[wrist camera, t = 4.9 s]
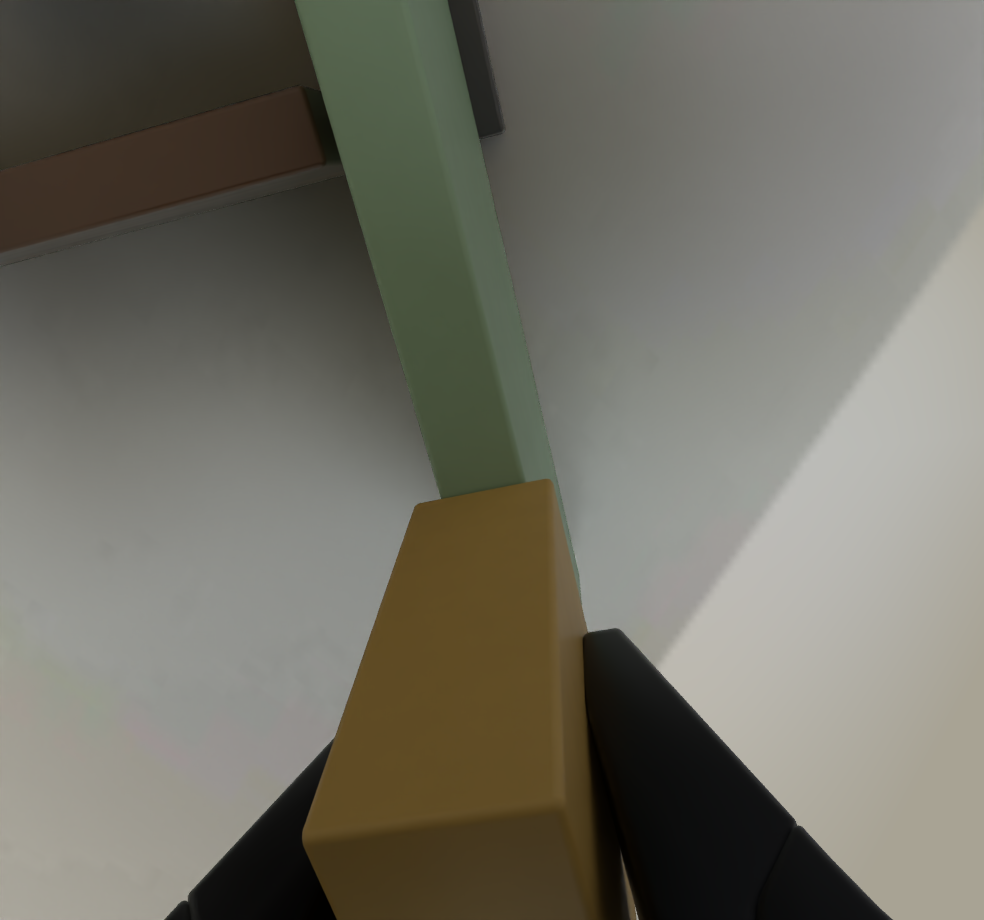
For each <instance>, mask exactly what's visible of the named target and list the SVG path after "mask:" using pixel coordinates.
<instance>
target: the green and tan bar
mask: <svg viewBox="0 0 984 920" xmlns="http://www.w3.org/2000/svg"><path fill="white" fill-rule="evenodd" d="M294 1H295V5H296V8H297V12H298V15H299V18H300V22H301V25H302V28H303V32H304V35H305V39H306V42H307V45H308V49H309V52H310V56H311V59H312V62H313V66H314V69H315V73H316V76H317V79H318V83H319V86H320V90H321V93H322V96H323V100H324V103H325V107H326V110H327V113H328V117H329V120H330V124H331V127H332V130H333V134H334V137H335V141H336V144H337V147H338V151H339V154H340V158H341V161H342V164H343V168H344V171H345V175H346V178H347V181H348V185H349V188H350V192H351V195H352V198H353V202H354V205H355V209H356V212H357V215H358V219H359V222H360V225H361V229H362V232H363V236H364V239H365V242H366V246H367V249H368V253H369V256H370V259H371V263H372V266H373V270H374V273H375V276H376V280H377V283H378V287H379V290H380V293H381V297H382V300H383V304H384V307H385V310H386V314H387V317H388V321H389V324H390V327H391V331H392V334H393V338H394V341H395V344H396V348H397V351H398V355H399V358H400V361H401V365H402V368H403V372H404V375H405V378H406V382H407V385H408V389H409V392H410V395H411V399H412V402H413V405H414V409H415V412H416V416H417V419H418V422H419V426H420V429H421V433H422V436H423V439H424V443H425V446H426V450H427V453H428V456H429V460H430V463H431V467H432V470H433V473H434V477H435V480H436V484H437V487H438V490H439V494H440V497H441V499H439V500H434V501H429V502H424V503H419V504H417V505H416V506H415V507H414V510H413V513H412V516H411V519H410V521H409V524H408V527H407V530H406V533H405V536H404V539H403V542H402V545H401V548H400V550H399V553H398V556H397V559H396V562H395V565H394V568H393V571H392V574H391V576H390V579H389V582H388V585H387V588H386V591H385V594H384V597H383V600H382V603H381V605H380V608H379V611H378V614H377V617H376V620H375V623H374V626H373V629H372V631H371V634H370V637H369V640H368V643H367V646H366V649H365V652H364V655H363V658H362V660H361V663H360V666H359V669H358V672H357V675H356V678H355V681H354V684H353V686H352V689H351V692H350V695H349V698H348V701H347V704H346V707H345V710H344V713H343V715H342V718H341V721H340V724H339V727H338V730H337V733H336V736H335V739H334V741H333V744H332V747H331V750H330V753H329V756H328V759H327V762H326V765H325V768H324V770H323V773H322V776H321V779H320V782H319V785H318V788H317V791H316V794H315V796H314V799H313V802H312V805H311V808H310V811H309V814H308V817H307V820H306V823H305V825H304V828H303V832H302V841H303V846H304V848H305V851H306V853H307V855H308V857H309V859H310V862H311V864H312V866H313V868H314V870H315V873H316V875H317V877H318V879H319V881H320V884H321V886H322V888H323V890H324V892H325V895H326V897H327V899H328V901H329V903H330V905H331V908H332V910H333V912H334V914H335V916H336V919H337V920H636V913H635V904H634V900H633V896H632V893H631V889H630V885H629V881H628V878H627V874H626V870H625V866H624V862H623V858H622V854H621V850H620V846H619V842H618V838H617V834H616V829H615V825H614V821H613V817H612V813H611V809H610V805H609V801H608V796H607V792H606V788H605V784H604V780H603V776H602V772H601V768H600V763H599V759H598V755H597V751H596V747H595V743H594V739H593V735H592V731H591V726H590V722H589V718H588V714H587V710H586V700H585V683H584V659H583V636H584V635H585V634H586V633H588V631H587V627H586V622H585V618H584V614H583V609H582V602H581V591H580V580H579V573H578V569H577V564H576V560H575V556H574V551H573V547H572V543H571V538H570V534H569V529H568V525H567V521H566V516H565V512H564V508H563V503H562V499H561V495H560V490H559V486H558V481H557V477H556V473H555V468H554V464H553V460H552V455H551V451H550V446H549V442H548V438H547V433H546V429H545V425H544V420H543V416H542V411H541V407H540V403H539V398H538V394H537V390H536V385H535V381H534V376H533V372H532V368H531V363H530V359H529V355H528V350H527V346H526V341H525V337H524V333H523V328H522V324H521V320H520V315H519V311H518V306H517V302H516V298H515V293H514V289H513V285H512V280H511V276H510V271H509V267H508V263H507V258H506V254H505V250H504V245H503V241H502V236H501V232H500V228H499V223H498V219H497V215H496V210H495V206H494V202H493V197H492V193H491V188H490V184H489V180H488V175H487V171H486V167H485V162H484V158H483V153H482V149H481V145H480V140H479V136H478V132H477V127H476V123H475V118H474V114H473V110H472V105H471V101H470V97H469V92H468V88H467V83H466V79H465V75H464V70H463V66H462V62H461V57H460V53H459V48H458V44H457V40H456V35H455V31H454V27H453V22H452V18H451V13H450V9H449V5H448V0H294Z"/></svg>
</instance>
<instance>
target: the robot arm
mask: <svg viewBox="0 0 984 920" xmlns="http://www.w3.org/2000/svg"><path fill="white" fill-rule="evenodd" d="M583 659H584V683H585V700H586V710H587V714H588V718H589V722H590V726H591V731H592V735H593V739H594V743H595V747H596V751H597V755H598V759H599V763H600V768H601V772H602V776H603V780H604V784H605V788H606V792H607V796H608V801H609V805H610V809H611V813H612V817H613V821H614V825H615V829H616V834H617V838H618V842H619V846H620V850H621V854H622V858H623V862H624V866H625V870H626V874H627V878H628V881H629V885H630V889H631V893H632V896H633V900H634V904H635V907H636V911H637V915H638V918H639V920H892V919H891V918H890V917H889V916H888V915H887V914H886V913H885V912H883V911H882V910H881V909H880V908H879V907H878V906H877V905H876V904H875V903H874V902H873V901H872V900H871V899H870V898H869V897H868V896H867V895H866V894H865V893H864V892H863V891H862V890H861V889H860V887H858V885H857V884H856V883H855V882H854V881H853V880H852V879H851V878H850V877H849V876H848V875H847V874H846V873H845V872H844V871H843V870H842V869H841V868H840V867H839V866H838V865H837V864H836V863H835V862H834V861H833V860H832V859H831V858H830V857H829V856H828V855H827V853H826V852H825V851H824V850H823V849H822V848H821V847H820V846H819V845H818V844H817V843H816V841H815V840H814V839H813V838H812V837H811V836H810V835H809V834H808V833H807V832H806V831H805V829H804V828H803V827H801V826H797V824H796V821H795V819H794V818H793V817H792V816H791V815H790V814H789V813H788V812H787V810H786V809H785V808H784V807H783V806H782V805H781V804H780V803H779V802H778V801H777V800H776V799H775V798H774V796H773V795H772V794H771V793H770V792H769V791H768V790H767V789H766V788H765V786H764V785H763V784H762V783H761V782H760V781H759V780H758V779H757V778H756V777H755V776H754V774H753V773H752V772H751V771H750V770H749V769H748V768H747V767H746V766H745V765H744V764H743V762H742V761H741V760H740V759H739V758H738V757H737V756H736V755H735V754H734V753H733V752H732V751H731V750H730V748H729V747H728V746H727V745H726V744H725V743H724V742H723V741H722V740H721V739H720V737H719V736H718V735H717V734H716V733H715V732H714V731H713V730H712V729H711V728H710V727H709V725H708V724H707V723H706V722H705V721H704V720H703V719H702V718H701V717H700V716H699V715H698V713H697V712H696V711H695V710H694V709H693V708H692V707H691V706H690V705H689V704H688V703H687V702H686V700H685V699H684V698H683V697H682V696H681V695H680V694H679V693H678V692H677V691H676V689H674V687H673V686H672V685H671V684H670V683H669V682H668V681H667V680H666V679H665V678H664V676H663V675H662V674H661V673H660V672H659V671H658V670H657V669H656V668H655V667H654V666H653V664H652V663H651V662H650V661H649V660H648V659H647V658H646V657H645V656H644V655H643V654H642V652H641V651H640V650H639V649H638V648H637V647H636V646H635V645H634V644H633V643H632V642H631V640H630V639H629V638H628V637H627V636H626V635H625V634H624V633H623V632H622V631H621V630H620V629H617V628H613V629H607V630H601V631H595V632H589V633H586V634H585V635H584V636H583ZM334 739H335V738H334ZM334 739H333V740H332V741H331V742H330V743H329V744H328V745H327V746H326V747H325V748H324V749H323V751H322V752H321V753H320V754H319V755H318V756H317V757H316V758H315V759H314V760H313V761H312V762H311V763H310V764H309V766H308V767H307V768H306V769H305V770H304V771H303V772H302V773H301V774H300V775H299V776H298V777H297V778H296V779H295V781H294V782H293V783H292V784H291V785H290V786H289V787H288V788H287V789H286V790H285V791H284V792H283V793H282V794H281V796H280V797H279V798H278V799H277V800H276V801H275V802H274V803H273V804H272V805H271V806H270V807H269V808H268V809H267V811H266V812H265V813H264V814H263V815H262V816H261V817H260V818H259V819H258V820H257V821H256V822H255V823H254V824H253V826H252V827H251V828H250V829H249V830H248V831H247V832H246V833H245V834H244V835H243V836H242V837H241V838H240V839H239V841H238V842H237V843H236V844H235V845H234V846H233V847H232V848H231V849H230V850H229V851H228V852H227V853H226V854H225V856H224V857H223V858H222V859H221V860H220V861H219V862H218V863H217V864H216V865H215V866H214V867H213V868H212V869H211V871H210V872H209V873H208V874H207V875H206V876H205V877H204V878H203V879H202V880H201V881H200V882H199V883H198V884H197V885H196V887H195V888H194V889H193V890H192V891H191V892H190V893H189V895H188V902H187V901H182V902H180V903H179V904H178V906H177V907H176V908H175V909H174V910H173V911H172V912H171V913H170V914H169V915H168V916H167V917H166V918H165V919H164V920H337V919H336V916H335V914H334V912H333V910H332V908H331V905H330V903H329V901H328V899H327V897H326V895H325V892H324V890H323V888H322V886H321V884H320V881H319V879H318V877H317V875H316V873H315V870H314V868H313V866H312V864H311V862H310V859H309V857H308V855H307V853H306V851H305V848H304V846H303V841H302V832H303V828H304V825H305V823H306V820H307V817H308V814H309V811H310V808H311V805H312V802H313V799H314V796H315V794H316V791H317V788H318V785H319V782H320V779H321V776H322V773H323V770H324V768H325V765H326V762H327V759H328V756H329V753H330V750H331V747H332V744H333V741H334Z"/></svg>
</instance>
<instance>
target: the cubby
mask: <svg viewBox="0 0 984 920" xmlns="http://www.w3.org/2000/svg"><path fill="white" fill-rule="evenodd" d="M448 5H449V9H450V13H451V18H452V22H453V27H454V31H455V35H456V40H457V44H458V48H459V53H460V57H461V62H462V66H463V70H464V75H465V79H466V83H467V88H468V92H469V97H470V101H471V105H472V110H473V114H474V118H475V123H476V127H477V132H478V136H479V139H482V138H486V137H490V136H494V135H498V134H501V133H503V132H505V125H504V120H503V116H502V111H501V106H500V102H499V97H498V92H497V88H496V83H495V79H494V74H493V69H492V65H491V60H490V55H489V51H488V46H487V41H486V37H485V32H484V28H483V23H482V18H481V14H480V9H479V4H478V0H448ZM343 175H345V171H344V168H343V164H342V161H341V158H340V154H339V151H338V147H337V144H336V141H335V137H334V134H333V130H332V127H331V124H330V120H329V117H328V113H327V110H326V107H325V103H324V100H323V96H322V93H321V91H320V90H316V89H313V88H309V87H305V86H300V85H297V86H294V87H290V88H287V89H283V90H280V91H276V92H273V93H269V94H266V95H262V96H259V97H255V98H252V99H248V100H245V101H241V102H238V103H234V104H231V105H227V106H224V107H220V108H217V109H213V110H210V111H206V112H203V113H199V114H196V115H192V116H189V117H185V118H182V119H178V120H175V121H171V122H168V123H164V124H161V125H157V126H154V127H150V128H147V129H143V130H140V131H136V132H133V133H129V134H126V135H122V136H119V137H115V138H112V139H109V140H105V141H102V142H98V143H95V144H91V145H88V146H84V147H81V148H77V149H74V150H70V151H67V152H63V153H60V154H56V155H53V156H49V157H46V158H42V159H39V160H35V161H32V162H28V163H25V164H21V165H18V166H14V167H11V168H7V169H4V170H0V266H4V265H8V264H12V263H15V262H19V261H23V260H27V259H30V258H34V257H38V256H42V255H45V254H49V253H53V252H57V251H61V250H64V249H68V248H72V247H76V246H79V245H83V244H87V243H91V242H94V241H98V240H102V239H106V238H109V237H113V236H117V235H121V234H125V233H128V232H132V231H136V230H140V229H143V228H147V227H151V226H155V225H158V224H162V223H166V222H170V221H174V220H177V219H181V218H185V217H189V216H192V215H196V214H200V213H204V212H207V211H211V210H215V209H219V208H222V207H226V206H230V205H234V204H238V203H241V202H245V201H249V200H253V199H256V198H260V197H264V196H268V195H271V194H275V193H279V192H283V191H287V190H290V189H294V188H298V187H302V186H305V185H309V184H313V183H317V182H320V181H324V180H328V179H332V178H336V177H339V176H343Z"/></svg>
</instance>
